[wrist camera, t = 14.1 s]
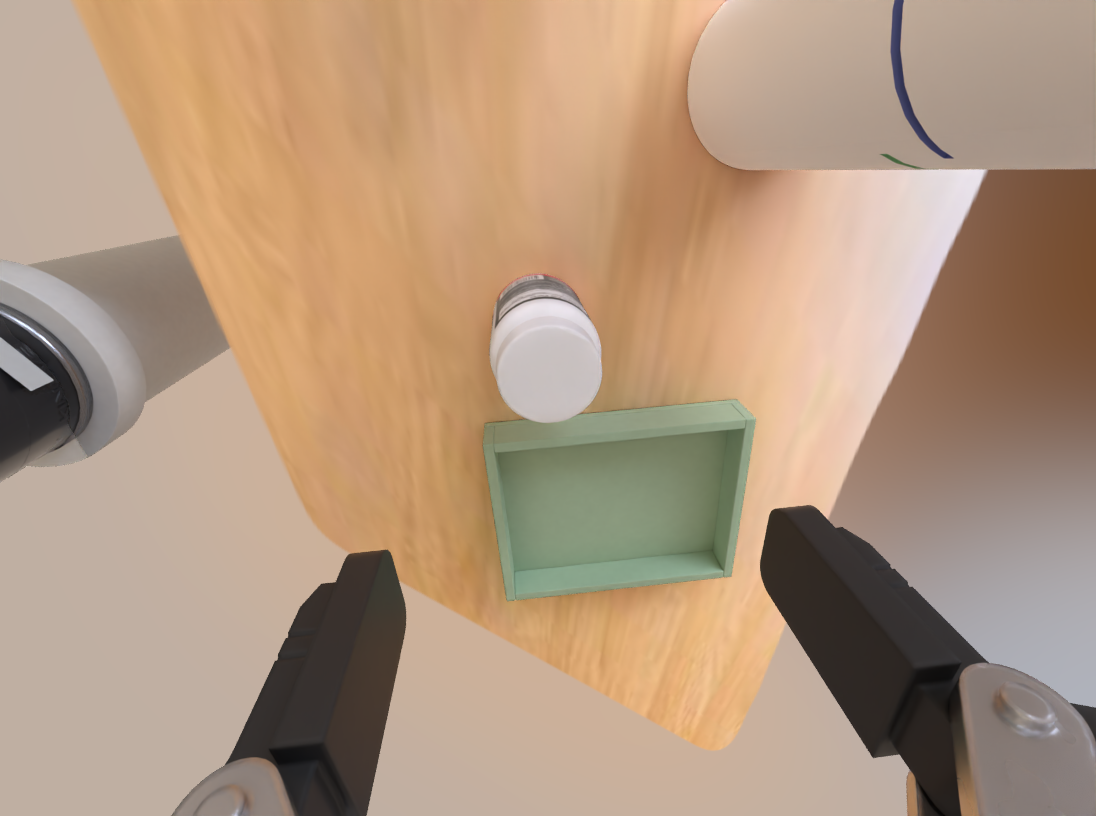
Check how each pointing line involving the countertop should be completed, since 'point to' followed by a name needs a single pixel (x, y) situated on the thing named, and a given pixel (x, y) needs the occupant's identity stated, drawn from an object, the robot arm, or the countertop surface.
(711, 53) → the cylindrical container
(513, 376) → the pill bottle
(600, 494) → the tray
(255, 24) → the countertop surface
